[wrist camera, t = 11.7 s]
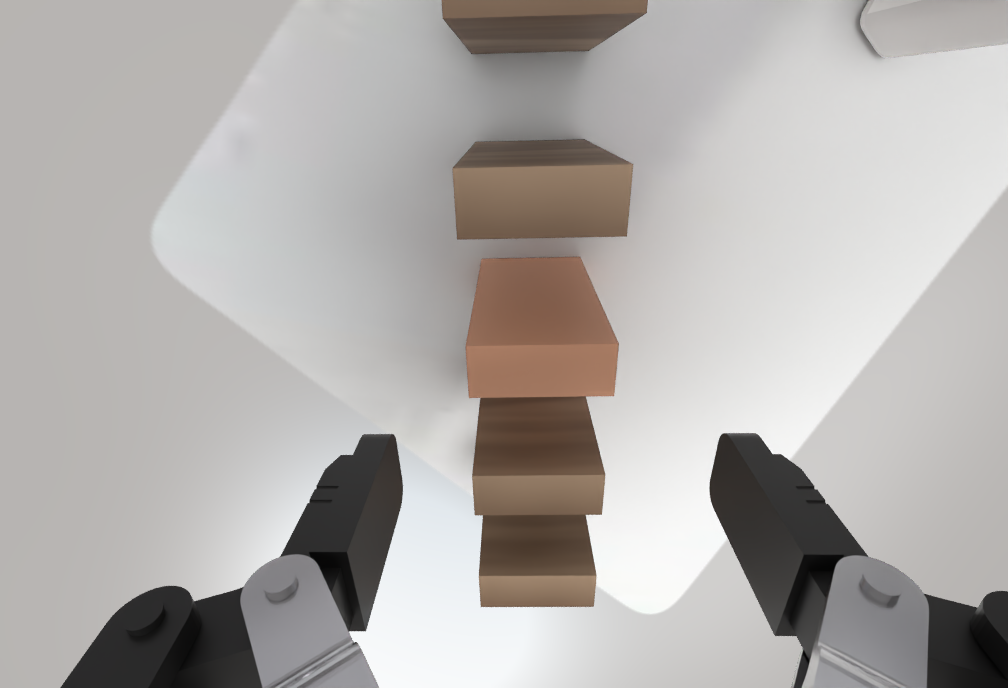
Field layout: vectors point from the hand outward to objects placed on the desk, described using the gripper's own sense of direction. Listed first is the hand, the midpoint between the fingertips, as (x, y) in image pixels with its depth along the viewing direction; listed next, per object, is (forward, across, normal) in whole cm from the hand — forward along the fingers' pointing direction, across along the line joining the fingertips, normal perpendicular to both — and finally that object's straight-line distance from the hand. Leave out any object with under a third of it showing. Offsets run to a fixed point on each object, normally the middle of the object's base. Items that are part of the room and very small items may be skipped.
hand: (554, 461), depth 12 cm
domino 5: (+15, 0, +11) cm, 18 cm away
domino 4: (+15, 0, +6) cm, 16 cm away
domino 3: (+15, 0, 0) cm, 15 cm away
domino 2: (+15, 0, -5) cm, 16 cm away
